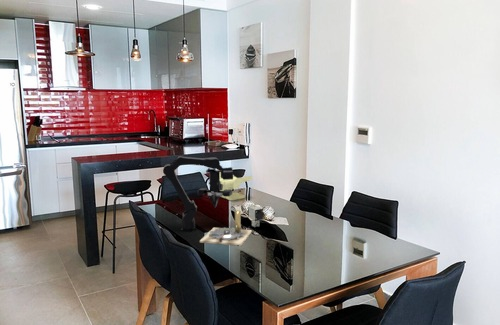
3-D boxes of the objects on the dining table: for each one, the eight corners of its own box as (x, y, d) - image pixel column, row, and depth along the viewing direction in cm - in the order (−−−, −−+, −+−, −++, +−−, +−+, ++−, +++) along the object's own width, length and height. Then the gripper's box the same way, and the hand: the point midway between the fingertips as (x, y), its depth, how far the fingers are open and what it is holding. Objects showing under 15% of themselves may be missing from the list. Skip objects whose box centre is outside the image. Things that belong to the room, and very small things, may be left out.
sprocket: (204, 232, 217) (203, 210, 215) (235, 227, 225) (235, 206, 223) (216, 243, 201) (216, 219, 199) (250, 237, 209) (250, 215, 207)
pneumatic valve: (256, 229, 225) (256, 208, 223) (247, 223, 235) (247, 204, 234) (265, 228, 228) (265, 207, 226) (255, 222, 238) (255, 202, 236)
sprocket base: (199, 242, 205) (199, 236, 205) (213, 229, 226) (213, 224, 226) (241, 245, 200) (241, 240, 199) (251, 231, 221) (251, 226, 221)
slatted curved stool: (211, 195, 307) (211, 172, 304) (229, 192, 316) (229, 170, 313) (233, 203, 283) (233, 178, 280) (252, 199, 292) (251, 175, 289)
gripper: (234, 178, 230) (234, 204, 233) (203, 176, 235) (204, 202, 237) (229, 181, 220) (229, 209, 222) (196, 180, 224) (197, 207, 226)
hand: (215, 207), depth 227 cm, fingers closed
